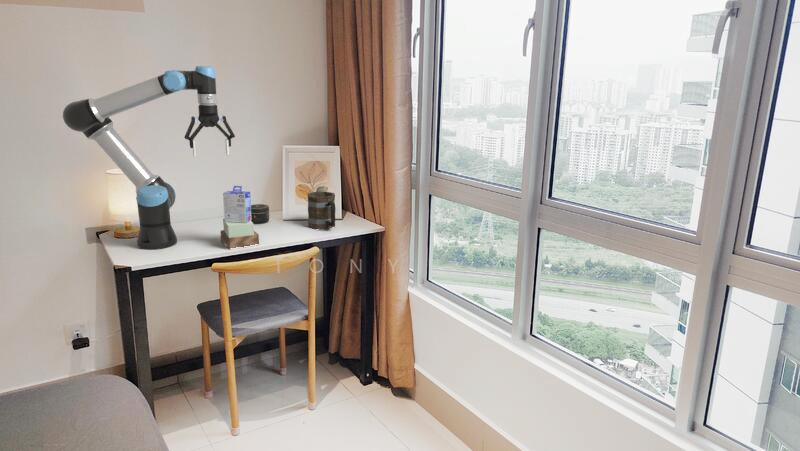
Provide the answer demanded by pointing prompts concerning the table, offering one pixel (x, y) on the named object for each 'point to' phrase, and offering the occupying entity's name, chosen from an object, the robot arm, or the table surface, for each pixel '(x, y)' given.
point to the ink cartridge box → (237, 205)
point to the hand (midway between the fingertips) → (211, 155)
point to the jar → (260, 213)
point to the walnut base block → (239, 240)
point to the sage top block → (238, 229)
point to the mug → (321, 210)
